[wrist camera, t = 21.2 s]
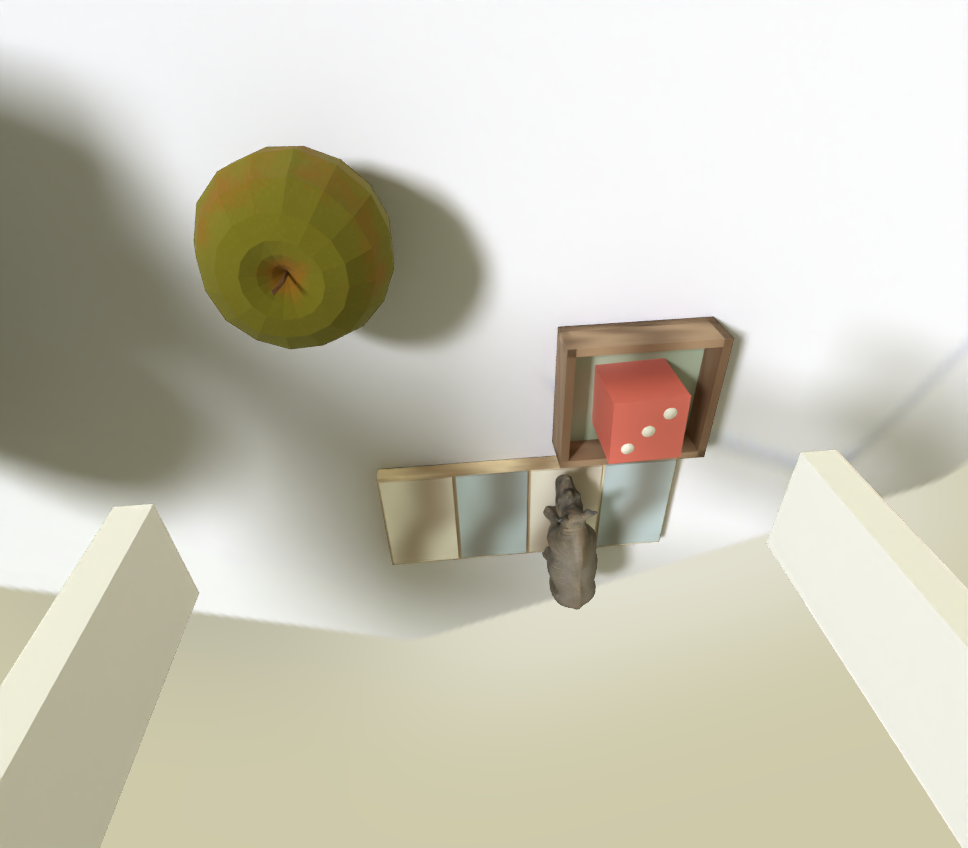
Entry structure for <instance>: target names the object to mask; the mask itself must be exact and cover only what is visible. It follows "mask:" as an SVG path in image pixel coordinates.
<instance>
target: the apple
mask: <svg viewBox="0 0 968 848" xmlns="http://www.w3.org/2000/svg"><path fill="white" fill-rule="evenodd" d="M194 246H195V253H196V259H197V262H198V266H199V269H200V273H201V277H202V280H203V284H204V288H205V291H206V292H207V294H208V295H209V297H210V298H211V299H212V301H213V302H214V304H215V305H216V307H217V308H218V309H219V311H220V312H221V314H222V315H223V317H224V318H225V320H226V321H228V322H229V323H231V324H232V325H234V326H236V327H237V328H239V329H240V330H242V331H243V332H245V333H247V334H248V335H250V336H251V337H253V338H254V339H256V340H258V341H262V342H266V343H269V344H273V345H277V346H280V347H284V348H288V349H297V348H305V347H313V346H322V345H325V344H327V343H329V342H332V341H334V340H336V339H338V338H340V337H342V336H344V335H346V334H348V333H350V332H352V331H354V330H356V329H358V328H360V327H362V326H364V324H365V323H366V322H367V321H368V320H369V318H370V317H371V316H372V315H373V314H374V312H375V311H376V310H377V309H378V308H379V306H380V305H381V304H382V303H383V302H384V299H385V296H386V293H387V289H388V286H389V283H390V280H391V276H392V273H393V270H394V262H393V248H392V240H391V231H390V223H389V217H388V215H387V213H386V211H385V210H384V208H383V206H382V204H381V203H380V201H379V199H378V197H377V196H376V194H375V192H374V190H373V188H372V187H371V185H370V184H369V183H368V182H366V181H365V180H364V179H363V178H362V177H361V176H359V175H358V174H357V173H356V172H355V171H354V170H352V169H351V168H350V167H349V166H348V165H347V164H345V163H344V162H343V161H342V160H341V159H338V158H335V157H333V156H330V155H327V154H324V153H322V152H319V151H316V150H313V149H311V148H308V147H305V146H282V147H265V148H263V149H261V150H258V151H256V152H254V153H252V154H250V155H248V156H246V157H243V158H241V159H239V160H237V161H235V162H233V163H231V164H229V165H228V166H226V167H224V168H223V169H221V170H219V171H217V172H216V174H215V176H214V177H213V179H212V180H211V182H210V183H209V185H208V186H207V188H206V189H205V191H204V192H203V194H202V195H201V197H200V199H199V200H198V202H197V203H196V217H195V231H194Z"/></svg>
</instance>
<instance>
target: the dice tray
mask: <svg viewBox="0 0 968 848" xmlns="http://www.w3.org/2000/svg"><path fill="white" fill-rule="evenodd" d="M733 341H734V338H733V337H732V336H731V335H730V334H729V332H728V331H727V330H726V329H725V328H724V327H723V326H722V325H721V324H720V323H719V322H718V321H717V320H716V319H715V318H714V317H699V318H684V319H669V320H654V321H639V322H624V323H609V324H594V325H579V326H564V327H558V335H557V356H556V376H555V396H554V416H553V436H552V442H553V446H554V449H555V452H556V456H557V459H558V462H559V466H560V468H570V467H583V466H595V465H608V464H609V463H608V461H607V458H606V456H605V453H604V451H603V448H602V446H601V443H600V441H599V439H598V436H597V434H596V431H595V429H594V426H593V424H592V410H593V393H594V376H595V365H600V364H610V363H620V362H630V361H640V360H651V359H661V358H665V359H666V361H667V362H668V364H669V365H670V366H671V368H672V369H673V371H674V372H675V374H676V375H677V377H678V378H679V379H680V381H681V382H682V384H683V385H684V387H685V388H686V390H687V391H688V392H689V394H690V395H691V401H690V406H689V412H688V417H687V423H686V428H685V434H684V439H683V445H682V450H681V456H680V457H673V458H663V459H654V460H644V461H635V462H646V461H659V460H671V459H684V458H697V457H704V455H705V451H706V447H707V443H708V439H709V435H710V432H711V428H712V424H713V420H714V416H715V412H716V408H717V404H718V400H719V396H720V392H721V388H722V384H723V380H724V376H725V372H726V368H727V364H728V360H729V356H730V352H731V348H732V345H733ZM625 463H633V462H625ZM615 464H621V463H615Z"/></svg>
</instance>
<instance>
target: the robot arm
mask: <svg viewBox="0 0 968 848" xmlns="http://www.w3.org/2000/svg"><path fill="white" fill-rule="evenodd" d="M767 545H768V547H769V548H770V550H771V552H772V553H773V554H774V556H775V558H776V559H777V561H778V562H779V564H780V566H781V567H782V568H783V570H784V572H785V573H786V575H787V576H788V578H789V580H790V581H791V583H792V584H793V586H794V587H795V589H796V590H797V592H798V593H799V595H800V597H801V598H802V600H803V601H804V603H805V604H806V606H807V608H808V609H809V611H810V612H811V614H812V615H813V617H814V618H815V620H816V621H817V623H818V625H819V626H820V628H821V629H822V631H823V632H824V634H825V636H826V637H827V639H828V640H829V642H830V643H831V645H832V646H833V648H834V649H835V651H836V652H837V654H838V656H839V657H840V659H841V660H842V662H843V663H844V665H845V667H846V668H847V670H848V671H849V673H850V674H851V676H852V677H853V679H854V680H855V682H856V684H857V685H858V687H859V688H860V690H861V691H862V693H863V695H864V696H865V698H866V699H867V701H868V702H869V704H870V705H871V707H872V709H873V710H874V711H875V713H876V715H877V716H878V718H879V719H880V721H881V723H882V724H883V726H884V727H885V729H886V730H887V732H888V733H889V735H890V737H891V738H892V740H893V741H894V743H895V744H896V746H897V747H898V749H899V751H900V752H901V754H902V755H903V757H904V758H905V760H906V761H907V763H908V764H909V766H910V768H911V769H912V771H913V772H914V774H915V775H916V777H917V779H918V780H919V782H920V783H921V785H922V786H923V788H924V789H925V791H926V793H927V794H928V796H929V797H930V799H931V800H932V802H933V803H934V805H935V807H936V808H937V810H938V811H939V813H940V814H941V816H942V817H943V819H944V820H945V822H946V824H947V825H948V827H949V828H950V830H951V831H952V833H953V835H954V836H955V838H956V839H957V841H958V842H959V843H960V845H961V847H962V848H968V589H967V588H966V587H965V586H964V585H963V584H962V582H961V581H960V580H959V579H958V578H957V577H956V576H955V575H954V574H953V573H952V572H951V571H950V570H949V569H948V568H947V567H946V565H944V563H943V562H942V561H941V560H940V559H939V558H938V557H937V556H936V555H935V554H934V553H933V552H932V551H931V550H930V549H929V547H928V546H927V545H926V544H925V543H924V542H923V541H922V540H921V539H920V538H919V537H918V536H917V535H916V534H915V533H914V532H913V530H912V529H911V528H910V527H909V526H908V525H907V524H906V523H905V522H904V521H903V520H902V519H901V518H900V517H899V516H898V515H897V514H896V512H895V511H894V510H893V509H892V508H891V507H890V506H889V505H888V504H887V503H886V502H885V501H884V500H883V499H882V498H881V496H880V495H879V494H878V493H877V492H876V491H875V490H874V489H873V488H872V487H871V486H870V485H869V484H868V483H867V482H866V481H865V479H864V478H863V477H862V476H861V475H860V474H859V473H858V472H857V471H856V470H855V469H854V468H853V467H852V466H851V465H850V464H849V463H848V461H847V460H846V459H845V458H844V457H843V456H842V455H841V454H840V453H839V452H838V451H837V450H825V451H812V452H801V453H800V456H799V458H798V461H797V464H796V466H795V469H794V472H793V474H792V477H791V479H790V482H789V485H788V487H787V490H786V493H785V495H784V498H783V501H782V503H781V506H780V508H779V511H778V514H777V516H776V519H775V522H774V524H773V527H772V530H771V532H770V535H769V537H768V540H767ZM198 595H199V592H198V590H197V588H196V586H195V584H194V582H193V580H192V578H191V576H190V574H189V572H188V570H187V568H186V566H185V564H184V562H183V560H182V558H181V556H180V555H179V553H178V551H177V549H176V547H175V545H174V543H173V541H172V539H171V537H170V535H169V533H168V531H167V529H166V527H165V525H164V523H163V521H162V519H161V517H160V516H159V514H158V512H157V510H156V508H155V506H154V504H145V505H132V506H119V507H113V508H112V510H111V512H110V513H109V515H108V516H107V518H106V519H105V521H104V523H103V524H102V526H101V527H100V529H99V531H98V532H97V534H96V535H95V537H94V538H93V540H92V542H91V543H90V545H89V546H88V548H87V550H86V551H85V553H84V554H83V556H82V557H81V559H80V561H79V562H78V564H77V565H76V567H75V569H74V570H73V572H72V573H71V575H70V576H69V578H68V580H67V581H66V583H65V584H64V586H63V588H62V589H61V591H60V592H59V594H58V596H57V597H56V599H55V600H54V602H53V603H52V605H51V607H50V608H49V610H48V612H47V613H46V615H45V616H44V618H43V619H42V621H41V622H40V624H39V626H38V627H37V629H36V630H35V632H34V634H33V635H32V637H31V638H30V640H29V642H28V643H27V645H26V646H25V648H24V650H23V651H22V653H21V654H20V656H19V657H18V659H17V660H16V662H15V664H14V665H13V667H12V669H11V670H10V672H9V673H8V675H7V676H6V678H5V679H4V681H3V683H2V684H1V686H0V848H100V846H101V843H102V841H103V838H104V836H105V833H106V830H107V828H108V825H109V823H110V820H111V818H112V815H113V813H114V810H115V807H116V805H117V802H118V800H119V797H120V795H121V792H122V790H123V787H124V784H125V782H126V779H127V777H128V774H129V772H130V769H131V766H132V764H133V761H134V759H135V756H136V754H137V751H138V748H139V746H140V743H141V741H142V738H143V736H144V733H145V731H146V728H147V725H148V723H149V720H150V718H151V715H152V712H153V710H154V707H155V705H156V702H157V700H158V697H159V694H160V692H161V689H162V687H163V684H164V682H165V679H166V677H167V674H168V671H169V669H170V666H171V664H172V661H173V659H174V656H175V654H176V651H177V648H178V646H179V643H180V641H181V638H182V635H183V633H184V630H185V628H186V625H187V623H188V620H189V617H190V615H191V612H192V610H193V607H194V605H195V602H196V600H197V597H198Z"/></svg>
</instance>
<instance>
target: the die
mask: <svg viewBox="0 0 968 848" xmlns="http://www.w3.org/2000/svg"><path fill="white" fill-rule="evenodd" d="M690 401H691V395H690V394H689V392H688V391H687V390H686V388H685V387H684V385H683V384H682V382H681V381H680V379H679V378H678V377H677V375H676V374H675V372H674V371H673V369H672V368H671V366H670V365H669V364H668V362H667V361H666V359H665V358H661V359H651V360H640V361H630V362H620V363H610V364H600V365H595V376H594V393H593V410H592V424H593V426H594V429H595V431H596V434H597V436H598V439H599V441H600V443H601V446H602V448H603V451H604V453H605V456H606V458H607V461H608V463H609V464H615V463H625V462H635V461H644V460H654V459H663V458H673V457H680V456H681V450H682V445H683V439H684V434H685V428H686V423H687V417H688V412H689V406H690Z"/></svg>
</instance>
